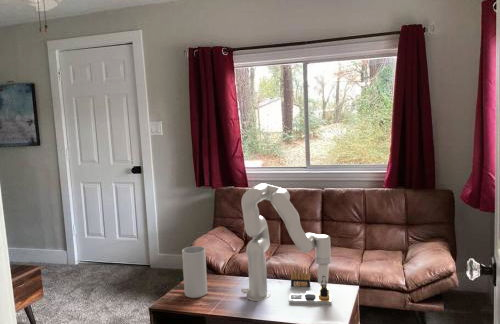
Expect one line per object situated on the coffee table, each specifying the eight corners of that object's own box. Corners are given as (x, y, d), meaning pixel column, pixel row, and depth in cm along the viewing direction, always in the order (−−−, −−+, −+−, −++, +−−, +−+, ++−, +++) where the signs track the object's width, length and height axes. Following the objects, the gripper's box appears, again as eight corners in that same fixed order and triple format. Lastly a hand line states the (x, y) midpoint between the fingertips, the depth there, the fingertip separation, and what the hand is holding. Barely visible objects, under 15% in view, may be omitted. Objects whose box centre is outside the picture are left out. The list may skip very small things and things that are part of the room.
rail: (289, 305, 217) (289, 299, 216) (290, 299, 224) (289, 293, 224) (331, 306, 213) (331, 301, 213) (330, 300, 221) (330, 294, 221)
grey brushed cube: (306, 302, 217) (305, 294, 217) (306, 299, 221) (305, 290, 221) (314, 302, 216) (314, 294, 216) (314, 299, 221) (314, 290, 220)
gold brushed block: (320, 302, 216) (320, 289, 215) (320, 299, 220) (320, 286, 219) (328, 303, 215) (328, 289, 215) (328, 299, 219) (328, 286, 219)
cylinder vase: (180, 293, 237) (177, 249, 235) (200, 287, 245) (197, 244, 242) (191, 300, 227) (189, 255, 225) (211, 293, 235) (209, 249, 232)
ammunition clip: (310, 287, 238) (309, 266, 237) (310, 288, 237) (309, 267, 235) (291, 286, 240) (290, 266, 239) (290, 288, 238) (290, 267, 237)
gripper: (315, 253, 224) (316, 285, 226) (315, 265, 207) (316, 300, 209) (330, 253, 223) (330, 286, 225) (331, 265, 206) (332, 300, 208)
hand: (323, 292), depth 217 cm, fingers open, 8 cm apart
